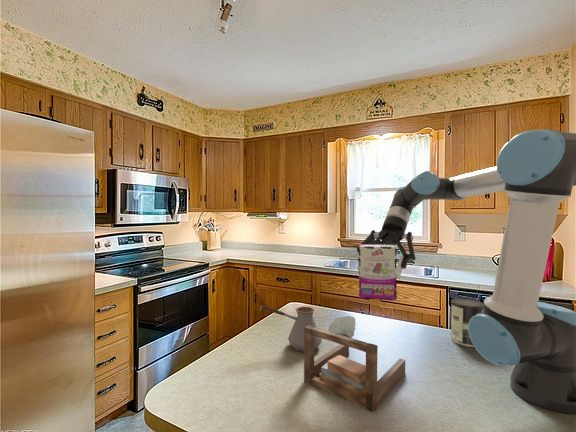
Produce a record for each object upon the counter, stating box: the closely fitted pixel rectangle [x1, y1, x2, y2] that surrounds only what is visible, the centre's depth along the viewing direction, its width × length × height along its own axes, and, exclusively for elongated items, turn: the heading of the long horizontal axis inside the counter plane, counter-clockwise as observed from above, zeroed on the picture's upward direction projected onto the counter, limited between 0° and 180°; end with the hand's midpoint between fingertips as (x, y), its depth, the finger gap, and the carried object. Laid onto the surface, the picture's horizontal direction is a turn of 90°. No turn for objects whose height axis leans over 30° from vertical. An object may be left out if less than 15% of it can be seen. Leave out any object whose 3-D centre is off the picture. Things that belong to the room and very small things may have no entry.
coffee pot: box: [259, 304, 323, 353], centre depth 106 cm, size 21×12×15 cm, turn 99°
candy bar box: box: [358, 244, 398, 301], centre depth 97 cm, size 11×5×16 cm, turn 77°
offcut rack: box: [303, 325, 406, 413], centre depth 87 cm, size 20×22×15 cm
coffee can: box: [450, 298, 484, 348], centre depth 112 cm, size 10×10×14 cm
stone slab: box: [327, 315, 356, 338], centre depth 126 cm, size 22×3×10 cm
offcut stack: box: [318, 355, 366, 397], centre depth 83 cm, size 14×7×6 cm, turn 50°
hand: (377, 273), depth 97 cm, fingers closed on candy bar box, 12 cm apart
